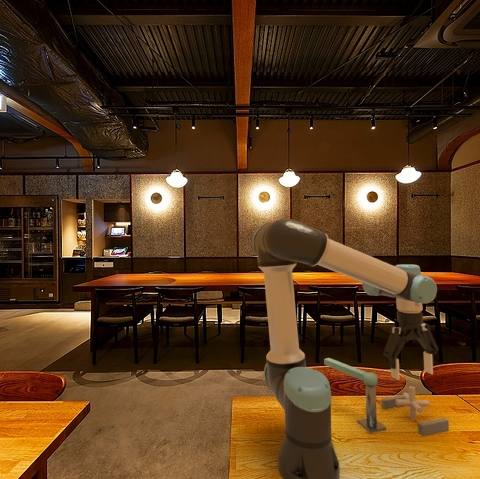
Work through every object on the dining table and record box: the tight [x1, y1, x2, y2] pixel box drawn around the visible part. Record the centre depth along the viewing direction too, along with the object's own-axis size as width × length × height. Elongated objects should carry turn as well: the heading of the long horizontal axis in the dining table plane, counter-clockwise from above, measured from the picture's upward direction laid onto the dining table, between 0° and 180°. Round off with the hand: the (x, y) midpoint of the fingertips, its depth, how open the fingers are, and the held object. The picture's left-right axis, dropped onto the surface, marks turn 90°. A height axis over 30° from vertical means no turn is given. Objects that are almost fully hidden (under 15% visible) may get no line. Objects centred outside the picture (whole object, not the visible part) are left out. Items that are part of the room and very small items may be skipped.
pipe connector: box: [395, 385, 431, 421], centre depth 98 cm, size 10×10×10 cm
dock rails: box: [380, 395, 450, 437], centre depth 98 cm, size 10×17×3 cm, turn 15°
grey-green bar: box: [323, 357, 378, 386], centre depth 101 cm, size 20×4×2 cm, turn 32°
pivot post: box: [356, 384, 387, 434], centre depth 94 cm, size 6×6×13 cm
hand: (412, 375), depth 99 cm, fingers open, 13 cm apart
